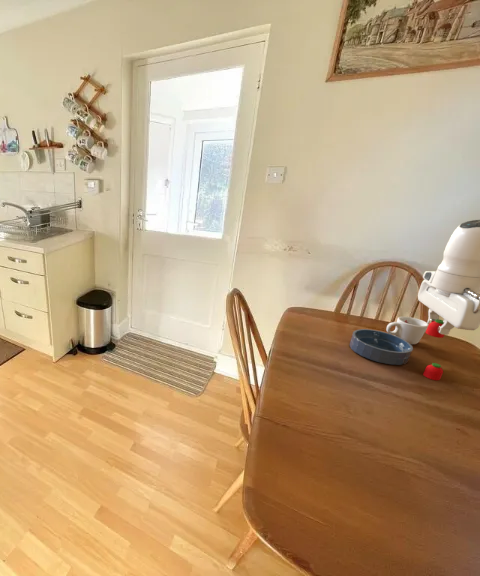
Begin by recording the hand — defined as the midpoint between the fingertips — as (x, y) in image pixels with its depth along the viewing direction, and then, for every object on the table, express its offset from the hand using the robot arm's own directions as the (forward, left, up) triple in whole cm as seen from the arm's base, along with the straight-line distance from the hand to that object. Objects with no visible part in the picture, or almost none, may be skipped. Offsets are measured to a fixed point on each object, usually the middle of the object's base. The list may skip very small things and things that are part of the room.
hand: (436, 329), depth 87 cm
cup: (-6, -26, -17) cm, 32 cm away
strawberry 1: (0, 0, -2) cm, 2 cm away
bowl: (+5, -13, -17) cm, 22 cm away
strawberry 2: (-5, -3, -17) cm, 18 cm away
